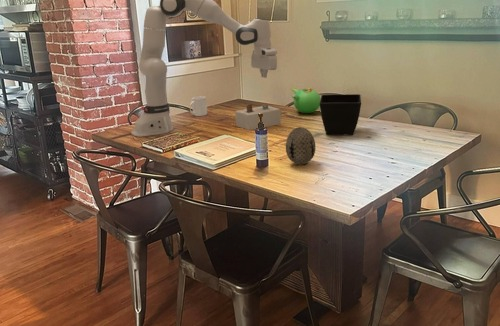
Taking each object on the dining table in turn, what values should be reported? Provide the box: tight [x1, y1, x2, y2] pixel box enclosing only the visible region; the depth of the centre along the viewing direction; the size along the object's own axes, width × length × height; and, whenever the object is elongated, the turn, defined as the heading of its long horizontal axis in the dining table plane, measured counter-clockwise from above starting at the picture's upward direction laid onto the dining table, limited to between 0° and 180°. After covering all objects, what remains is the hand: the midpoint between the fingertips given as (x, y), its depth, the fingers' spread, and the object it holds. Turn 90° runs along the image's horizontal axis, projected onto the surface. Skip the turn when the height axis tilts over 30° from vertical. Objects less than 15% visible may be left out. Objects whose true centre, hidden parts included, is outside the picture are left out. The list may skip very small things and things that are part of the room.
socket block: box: [234, 105, 282, 131], centre depth 246 cm, size 20×14×8 cm
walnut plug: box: [246, 104, 253, 113], centre depth 243 cm, size 3×3×9 cm
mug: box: [189, 95, 208, 117], centre depth 277 cm, size 9×12×11 cm
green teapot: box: [291, 87, 321, 114], centre depth 266 cm, size 18×17×15 cm
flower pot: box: [319, 93, 362, 136], centre depth 221 cm, size 19×19×17 cm
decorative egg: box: [285, 126, 316, 165], centre depth 180 cm, size 12×12×15 cm
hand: (264, 77), depth 242 cm, fingers closed
